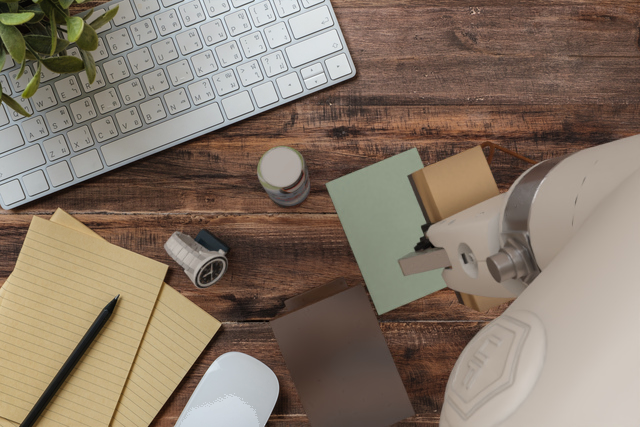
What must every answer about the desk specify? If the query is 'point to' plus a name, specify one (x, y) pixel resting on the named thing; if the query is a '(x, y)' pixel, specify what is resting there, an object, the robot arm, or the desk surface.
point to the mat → (384, 228)
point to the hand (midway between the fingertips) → (461, 228)
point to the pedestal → (340, 358)
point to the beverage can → (284, 176)
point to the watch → (199, 256)
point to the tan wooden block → (456, 199)
